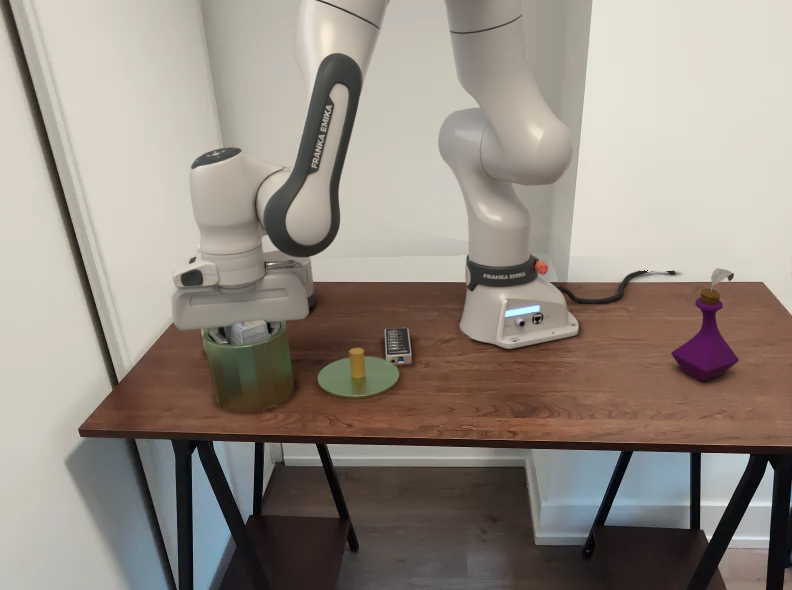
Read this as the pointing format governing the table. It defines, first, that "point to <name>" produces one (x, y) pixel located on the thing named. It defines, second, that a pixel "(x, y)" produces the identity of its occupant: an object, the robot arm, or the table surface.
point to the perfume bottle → (707, 338)
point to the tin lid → (358, 376)
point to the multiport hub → (398, 346)
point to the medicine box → (246, 332)
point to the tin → (250, 370)
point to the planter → (305, 261)
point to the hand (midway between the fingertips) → (248, 348)
